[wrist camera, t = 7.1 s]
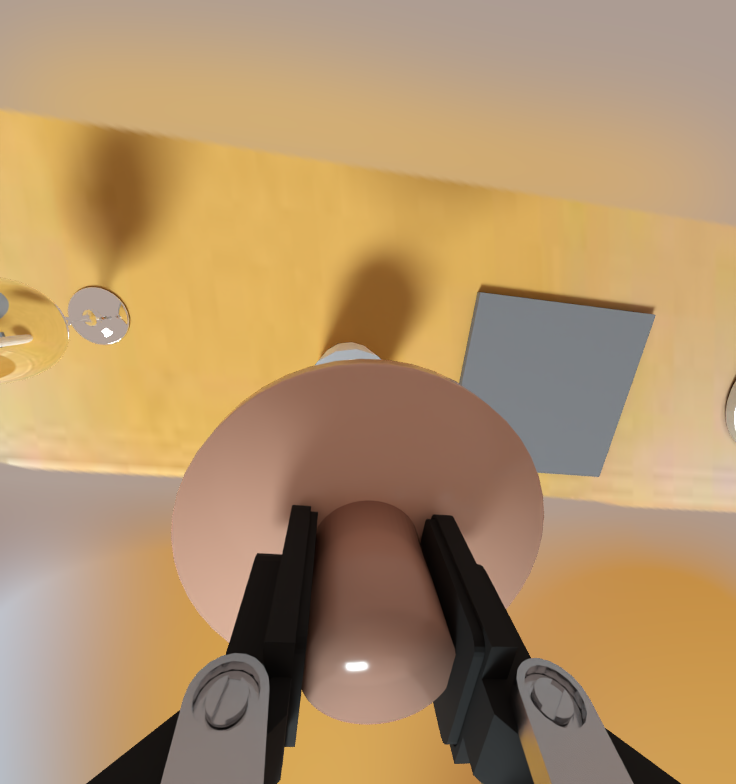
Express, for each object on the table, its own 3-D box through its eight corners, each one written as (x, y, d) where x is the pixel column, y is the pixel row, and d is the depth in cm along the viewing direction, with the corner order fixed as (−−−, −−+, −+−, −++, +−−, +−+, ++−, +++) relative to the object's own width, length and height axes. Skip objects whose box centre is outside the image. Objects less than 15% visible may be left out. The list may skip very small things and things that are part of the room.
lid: (582, 536, 12) (714, 671, 8) (339, 693, 14) (339, 883, 9) (398, 274, 9) (453, 266, 5) (106, 511, 10) (-55, 669, 6)
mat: (649, 314, 31) (655, 314, 30) (594, 473, 35) (599, 476, 35) (477, 292, 29) (480, 292, 29) (443, 463, 34) (444, 466, 33)
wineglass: (63, 266, 26) (-151, 253, 15) (144, 293, 27) (2, 299, 16) (55, 339, 28) (-145, 378, 16) (132, 362, 29) (-6, 413, 17)
